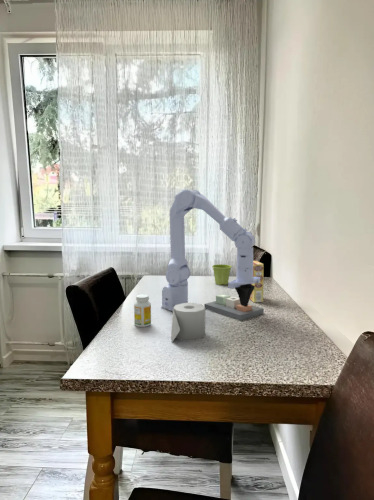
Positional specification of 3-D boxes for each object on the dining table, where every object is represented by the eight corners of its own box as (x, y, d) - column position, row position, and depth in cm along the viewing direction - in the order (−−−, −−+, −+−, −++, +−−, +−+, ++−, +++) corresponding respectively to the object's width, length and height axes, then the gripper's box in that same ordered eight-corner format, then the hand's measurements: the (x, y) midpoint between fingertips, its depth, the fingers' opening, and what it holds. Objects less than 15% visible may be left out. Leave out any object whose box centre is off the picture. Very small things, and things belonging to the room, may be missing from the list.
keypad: (240, 320, 121) (240, 315, 121) (204, 308, 135) (204, 303, 135) (263, 313, 129) (263, 308, 128) (227, 302, 142) (227, 298, 142)
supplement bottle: (134, 327, 115) (133, 298, 114) (134, 322, 120) (134, 294, 119) (151, 327, 115) (150, 297, 114) (151, 321, 121) (150, 293, 119)
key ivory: (233, 308, 129) (233, 300, 128) (225, 306, 132) (225, 298, 131) (240, 306, 131) (240, 298, 131) (233, 304, 134) (233, 296, 134)
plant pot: (234, 282, 177) (234, 265, 176) (226, 286, 169) (226, 268, 168) (217, 280, 182) (217, 263, 181) (208, 284, 174) (208, 266, 173)
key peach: (244, 316, 125) (244, 307, 125) (236, 313, 128) (236, 305, 128) (251, 314, 127) (251, 305, 127) (243, 311, 130) (243, 303, 130)
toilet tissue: (166, 344, 101) (166, 314, 100) (178, 328, 114) (178, 301, 113) (198, 347, 99) (198, 317, 98) (207, 330, 112) (207, 303, 111)
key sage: (223, 305, 133) (223, 297, 132) (215, 303, 136) (215, 295, 135) (230, 303, 135) (230, 295, 135) (223, 301, 138) (223, 293, 138)
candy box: (263, 302, 143) (264, 264, 141) (253, 302, 142) (254, 264, 140) (256, 296, 151) (257, 260, 149) (246, 296, 151) (247, 260, 149)
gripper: (239, 271, 118) (238, 312, 120) (267, 266, 127) (266, 304, 129) (223, 268, 123) (223, 307, 125) (251, 263, 132) (251, 300, 134)
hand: (244, 305), depth 127 cm, fingers closed, pressing on key peach
